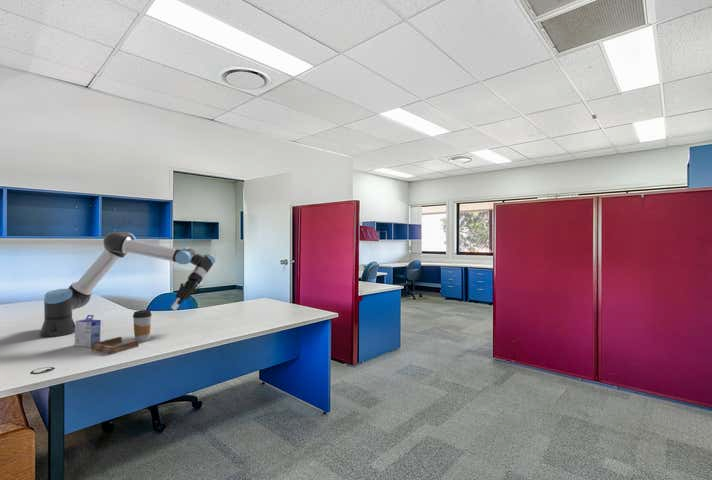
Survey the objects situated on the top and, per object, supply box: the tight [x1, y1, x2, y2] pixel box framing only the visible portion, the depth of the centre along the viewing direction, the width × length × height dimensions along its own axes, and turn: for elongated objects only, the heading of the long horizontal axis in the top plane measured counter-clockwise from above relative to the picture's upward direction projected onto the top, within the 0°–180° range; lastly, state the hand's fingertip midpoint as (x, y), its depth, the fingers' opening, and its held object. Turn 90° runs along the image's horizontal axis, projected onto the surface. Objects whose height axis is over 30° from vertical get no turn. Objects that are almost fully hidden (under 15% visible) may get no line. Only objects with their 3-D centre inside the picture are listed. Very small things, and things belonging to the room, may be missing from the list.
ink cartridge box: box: [74, 314, 102, 348], centre depth 175 cm, size 10×6×14 cm, turn 78°
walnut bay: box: [91, 336, 140, 355], centre depth 170 cm, size 14×13×3 cm
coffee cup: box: [132, 309, 152, 343], centre depth 183 cm, size 8×8×15 cm
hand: (173, 308), depth 199 cm, fingers closed
